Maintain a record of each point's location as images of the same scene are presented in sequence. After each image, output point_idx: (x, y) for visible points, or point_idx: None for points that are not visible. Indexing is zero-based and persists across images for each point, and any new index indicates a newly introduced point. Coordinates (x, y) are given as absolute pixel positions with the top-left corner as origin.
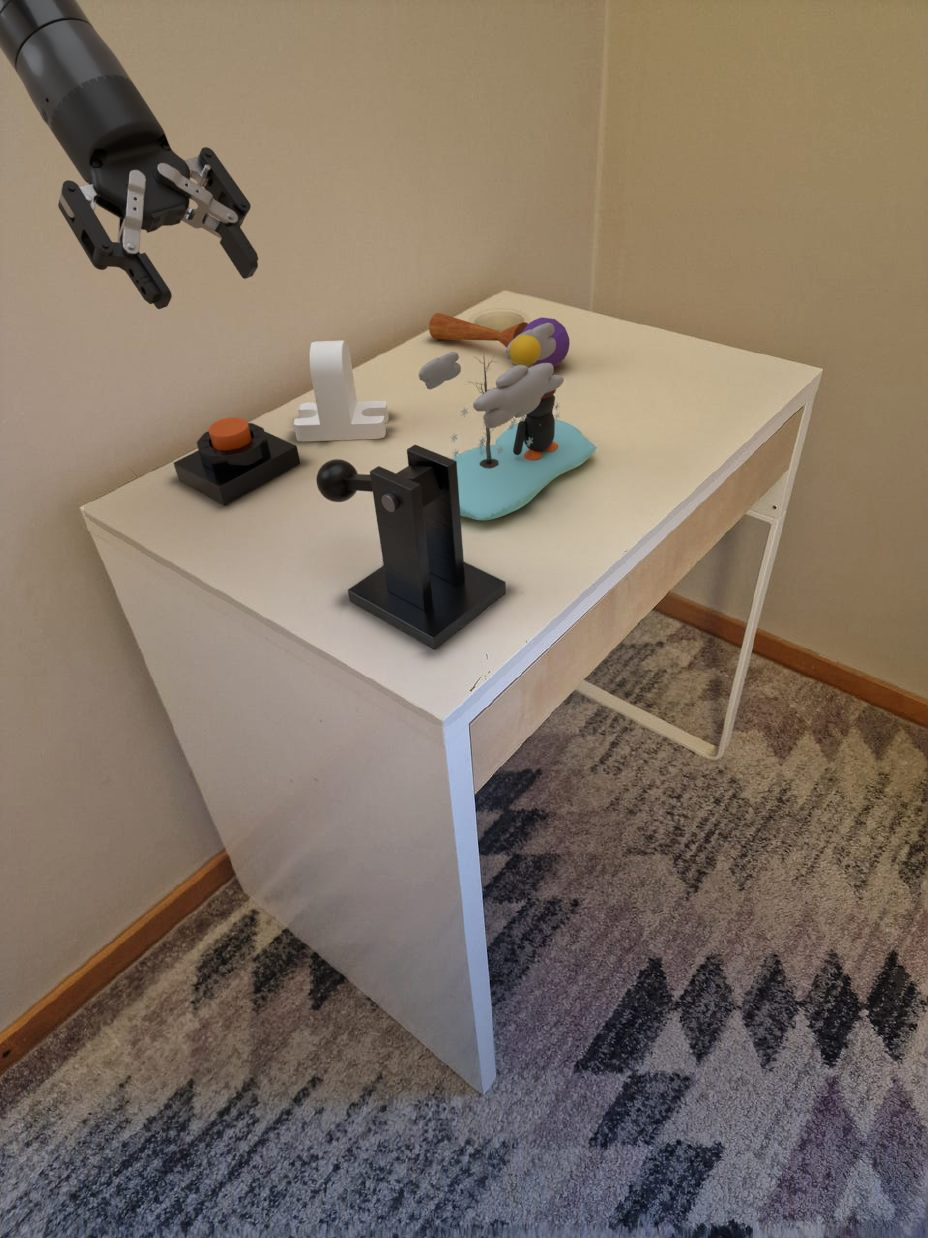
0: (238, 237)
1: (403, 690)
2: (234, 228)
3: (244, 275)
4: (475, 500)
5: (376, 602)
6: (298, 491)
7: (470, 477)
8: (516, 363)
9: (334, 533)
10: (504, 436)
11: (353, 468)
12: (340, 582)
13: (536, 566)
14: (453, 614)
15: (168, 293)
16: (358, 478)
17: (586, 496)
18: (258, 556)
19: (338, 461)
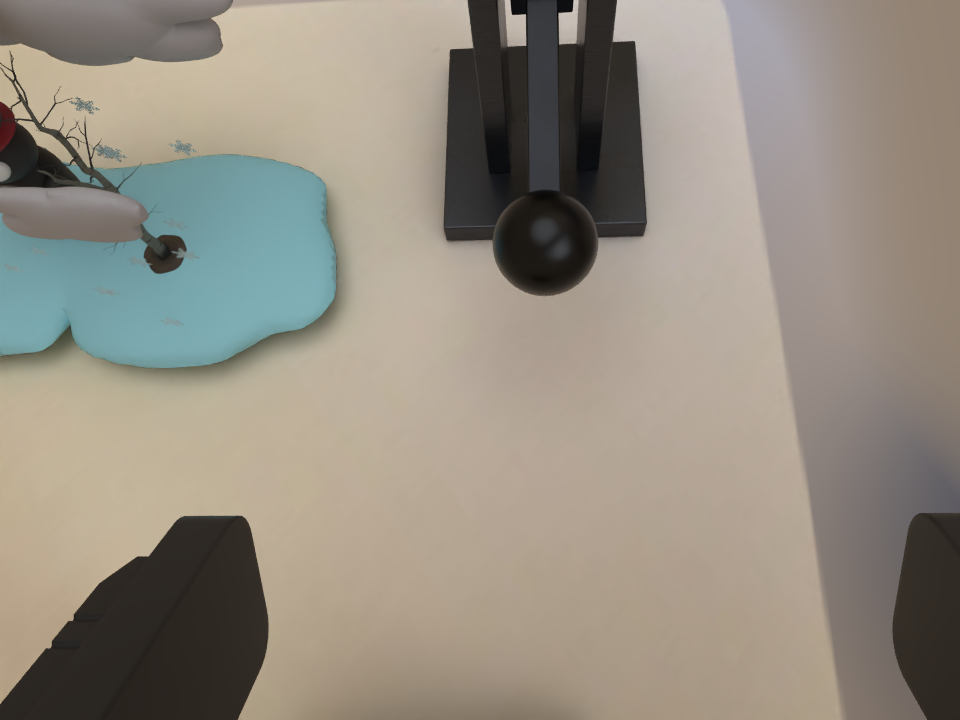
0: (109, 648)
1: (727, 35)
2: (42, 717)
3: (260, 629)
4: (293, 200)
5: (634, 161)
6: (438, 632)
7: (232, 250)
8: None
9: (510, 419)
10: (31, 323)
11: (512, 202)
12: (617, 288)
13: (365, 73)
14: (570, 55)
15: (943, 513)
16: (552, 137)
17: (133, 130)
18: (678, 490)
19: (534, 214)
